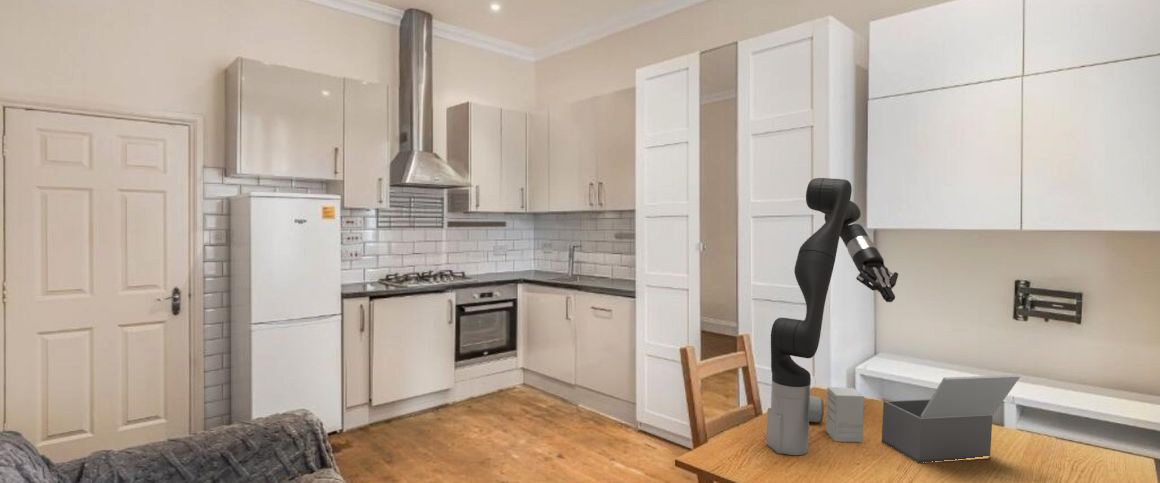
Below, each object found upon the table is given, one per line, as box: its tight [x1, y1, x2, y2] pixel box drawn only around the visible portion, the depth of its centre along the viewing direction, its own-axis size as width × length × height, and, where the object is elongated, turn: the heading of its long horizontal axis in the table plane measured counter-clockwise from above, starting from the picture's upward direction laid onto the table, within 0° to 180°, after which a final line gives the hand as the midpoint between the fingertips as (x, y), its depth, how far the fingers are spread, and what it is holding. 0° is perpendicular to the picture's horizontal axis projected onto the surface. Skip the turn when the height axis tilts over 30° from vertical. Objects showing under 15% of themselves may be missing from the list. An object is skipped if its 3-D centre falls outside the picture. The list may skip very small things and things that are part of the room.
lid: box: [921, 374, 1021, 418], centre depth 135 cm, size 20×13×1 cm
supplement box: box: [825, 386, 865, 443], centre depth 153 cm, size 7×7×13 cm
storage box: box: [881, 398, 993, 464], centre depth 145 cm, size 20×13×11 cm, turn 100°
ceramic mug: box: [809, 395, 825, 423], centre depth 167 cm, size 11×8×8 cm
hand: (891, 300), depth 161 cm, fingers closed
